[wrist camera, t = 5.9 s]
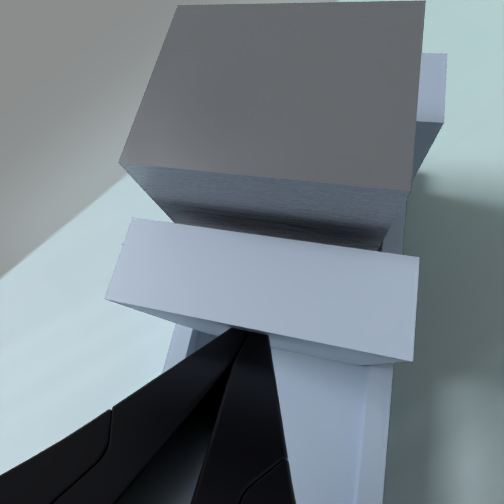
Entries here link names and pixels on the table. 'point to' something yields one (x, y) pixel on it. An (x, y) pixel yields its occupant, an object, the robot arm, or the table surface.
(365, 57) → the block
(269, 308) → the free jaw
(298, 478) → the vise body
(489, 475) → the table surface
